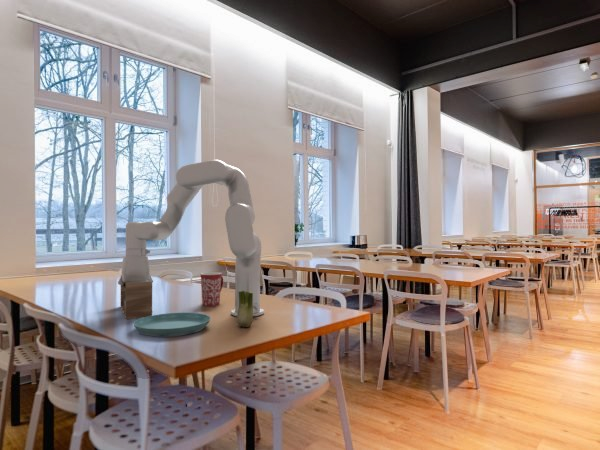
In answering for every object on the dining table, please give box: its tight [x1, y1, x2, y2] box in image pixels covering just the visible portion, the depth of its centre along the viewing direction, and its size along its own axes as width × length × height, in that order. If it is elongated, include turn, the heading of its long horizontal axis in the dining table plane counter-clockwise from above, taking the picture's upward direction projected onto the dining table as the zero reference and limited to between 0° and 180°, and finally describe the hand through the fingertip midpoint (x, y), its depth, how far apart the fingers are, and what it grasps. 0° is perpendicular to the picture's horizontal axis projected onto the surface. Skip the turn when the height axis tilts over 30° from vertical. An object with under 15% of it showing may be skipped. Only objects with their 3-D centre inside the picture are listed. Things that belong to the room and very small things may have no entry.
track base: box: [119, 274, 153, 320], centre depth 162 cm, size 26×9×13 cm, turn 28°
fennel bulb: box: [236, 291, 254, 328], centre depth 138 cm, size 6×5×12 cm
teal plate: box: [132, 312, 211, 338], centre depth 135 cm, size 24×24×3 cm
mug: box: [200, 271, 224, 307], centre depth 179 cm, size 13×9×14 cm
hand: (135, 299), depth 162 cm, fingers closed on door panel, 2 cm apart
